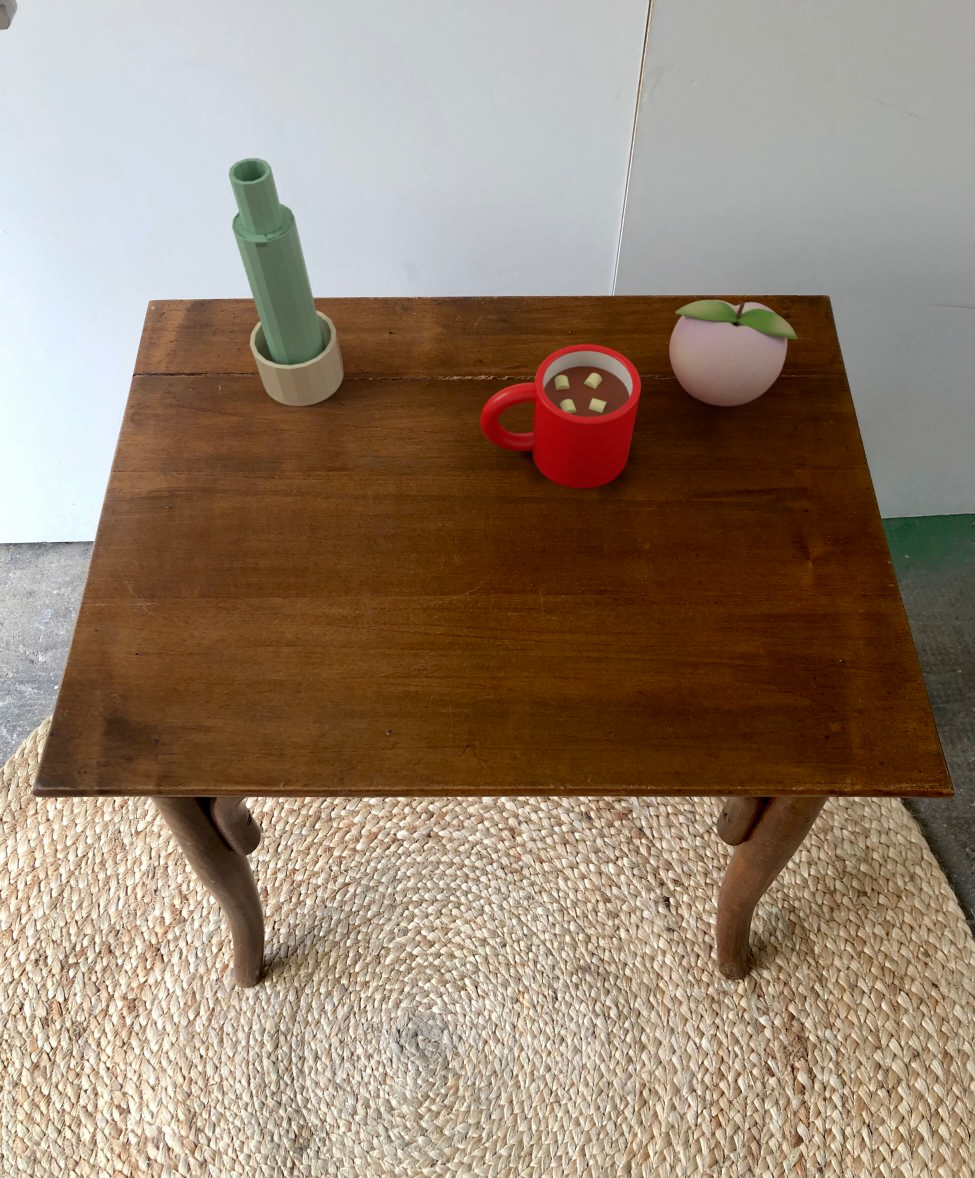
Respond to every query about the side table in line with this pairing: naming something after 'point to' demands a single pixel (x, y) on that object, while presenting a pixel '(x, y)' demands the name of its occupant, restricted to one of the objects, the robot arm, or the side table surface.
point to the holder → (300, 369)
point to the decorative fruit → (728, 350)
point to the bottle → (274, 265)
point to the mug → (573, 415)
